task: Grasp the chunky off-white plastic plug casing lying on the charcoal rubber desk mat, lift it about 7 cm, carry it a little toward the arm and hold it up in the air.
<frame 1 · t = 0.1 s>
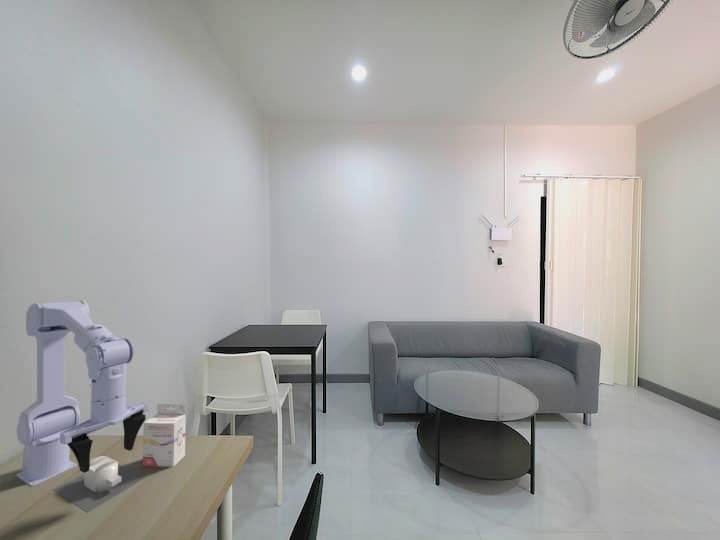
hand: (107, 459, 59), 10 cm above the table, tool pointing down, fingers open, 7 cm apart
desk mat: (100, 484, 65), on the table
ink cartridge box: (164, 463, 73), on the table
plug casing: (100, 483, 65), resting on desk mat
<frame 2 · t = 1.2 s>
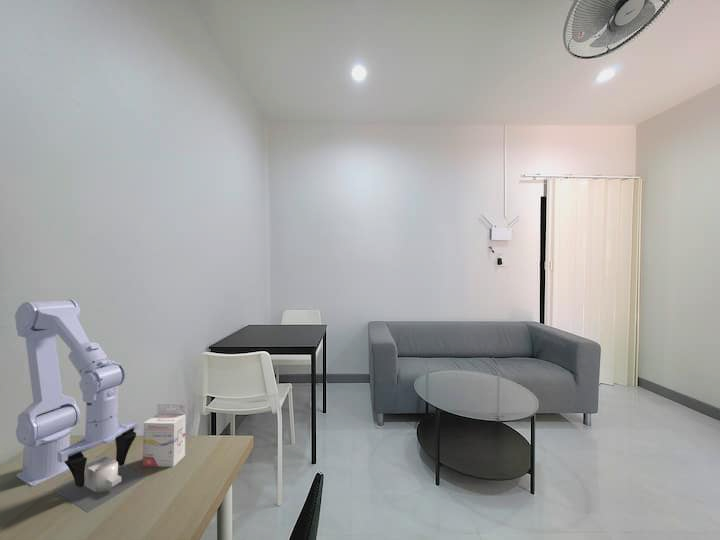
hand: (101, 474, 65), 2 cm above the table, tool pointing down, fingers open, 7 cm apart
nothing on the table moved.
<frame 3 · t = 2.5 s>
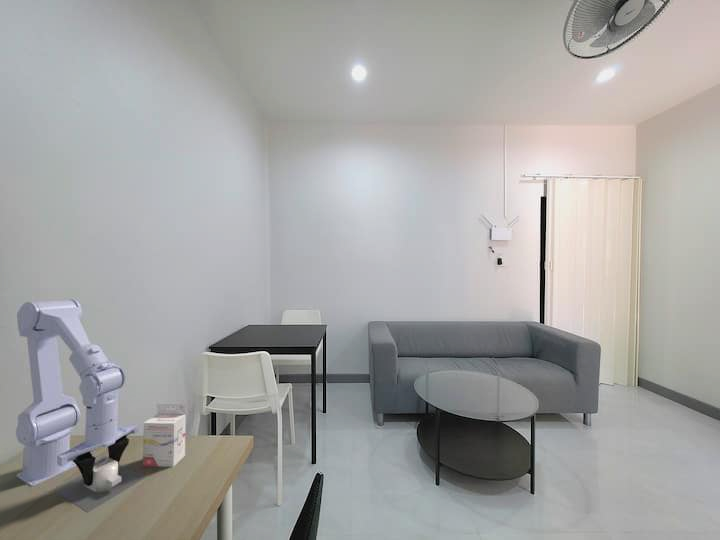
hand: (100, 477, 65), 2 cm above the table, tool pointing down, fingers closed on plug casing, 4 cm apart
plug casing: (100, 483, 65), resting on desk mat, touching gripper
everything else where it was.
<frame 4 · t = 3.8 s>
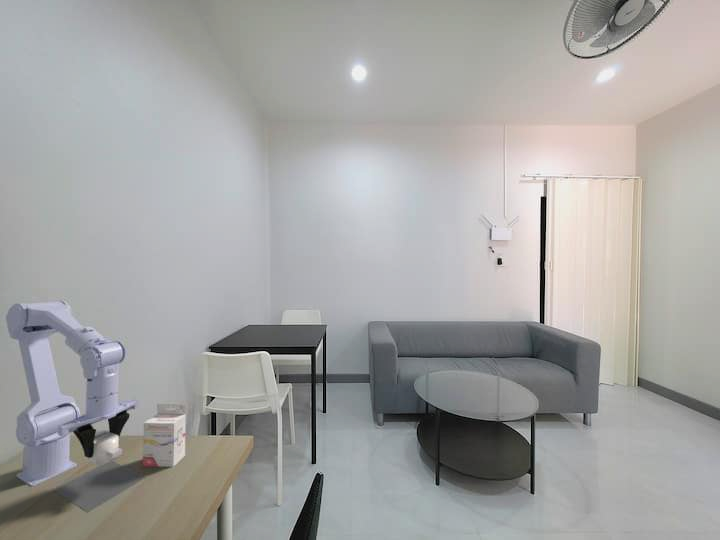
hand: (101, 450, 65), 8 cm above the table, tool pointing down, fingers closed on plug casing, 4 cm apart
plug casing: (101, 456, 65), point 7 cm above the table, touching gripper
everything else where it was.
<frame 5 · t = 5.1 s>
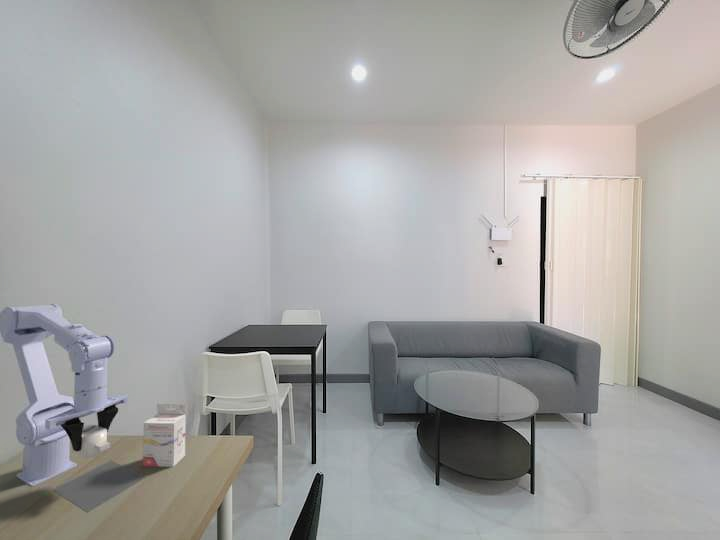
hand: (89, 444, 66), 9 cm above the table, tool pointing down, fingers closed on plug casing, 4 cm apart
plug casing: (89, 449, 66), point 8 cm above the table, touching gripper
everything else where it was.
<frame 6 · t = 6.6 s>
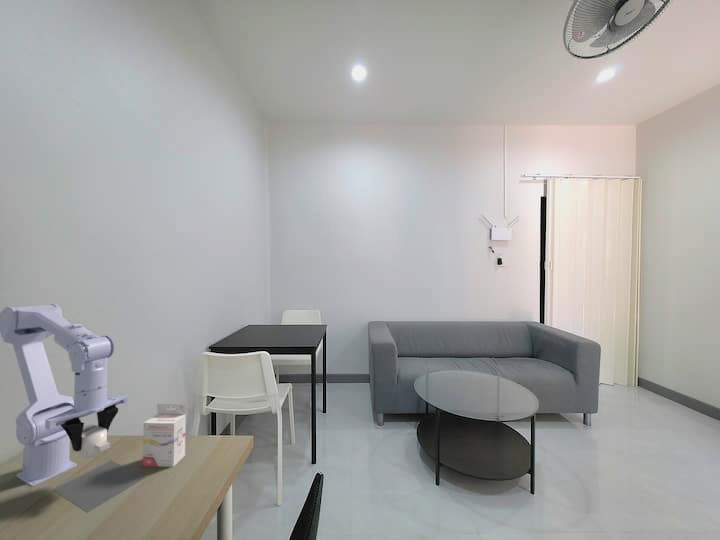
hand: (89, 444, 66), 9 cm above the table, tool pointing down, fingers closed on plug casing, 4 cm apart
plug casing: (89, 449, 66), point 8 cm above the table, touching gripper
everything else where it was.
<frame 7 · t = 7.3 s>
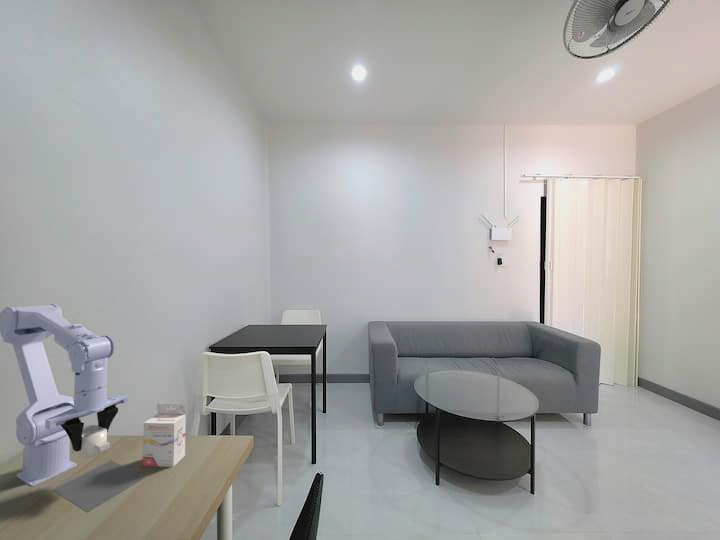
hand: (89, 444, 66), 9 cm above the table, tool pointing down, fingers closed on plug casing, 4 cm apart
plug casing: (89, 449, 66), point 8 cm above the table, touching gripper
everything else where it was.
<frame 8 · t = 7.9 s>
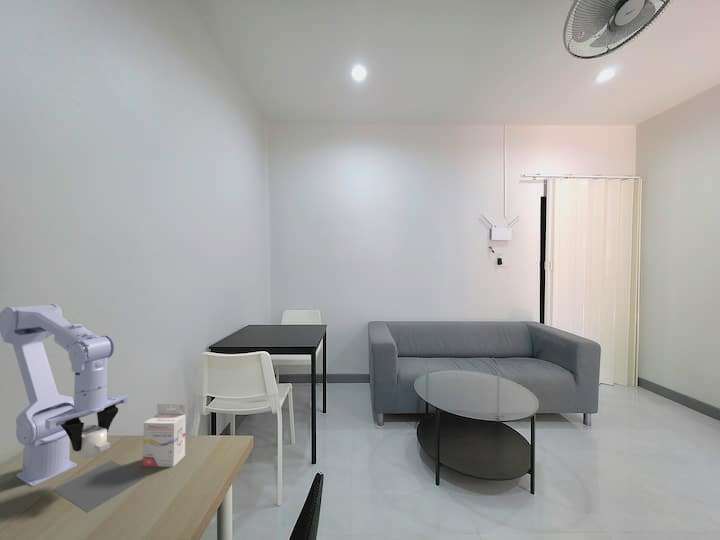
hand: (89, 444, 66), 9 cm above the table, tool pointing down, fingers closed on plug casing, 4 cm apart
plug casing: (89, 449, 66), point 8 cm above the table, touching gripper
everything else where it was.
at the end: the gripper is holding plug casing; plug casing point 8.1 cm above the table; plug casing inside the target area (0.0 cm from its centre), point 8.1 cm above the table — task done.
